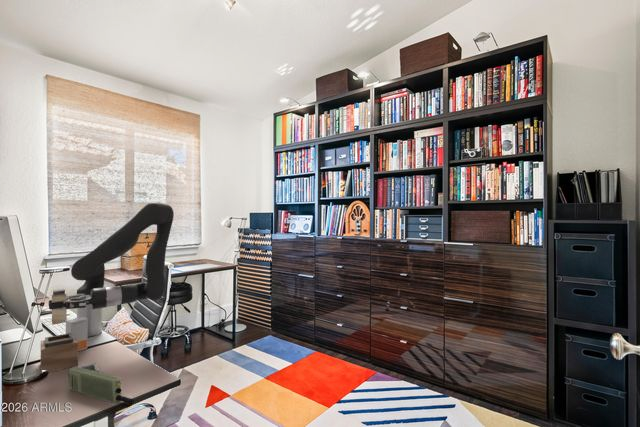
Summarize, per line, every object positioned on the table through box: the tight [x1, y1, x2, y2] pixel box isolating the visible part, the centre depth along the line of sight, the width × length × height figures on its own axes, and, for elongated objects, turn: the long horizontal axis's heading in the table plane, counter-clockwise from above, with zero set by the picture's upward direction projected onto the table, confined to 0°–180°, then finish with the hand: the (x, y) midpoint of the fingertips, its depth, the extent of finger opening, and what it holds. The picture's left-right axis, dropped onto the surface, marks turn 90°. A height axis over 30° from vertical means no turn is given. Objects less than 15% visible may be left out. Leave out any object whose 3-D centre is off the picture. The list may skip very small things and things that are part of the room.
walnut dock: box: [40, 333, 79, 373], centre depth 122 cm, size 10×10×9 cm
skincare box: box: [65, 317, 88, 352], centre depth 134 cm, size 6×4×12 cm
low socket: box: [78, 362, 100, 373], centre depth 115 cm, size 8×8×1 cm
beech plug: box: [51, 288, 68, 325], centre depth 122 cm, size 4×4×11 cm
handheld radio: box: [68, 366, 135, 405], centre depth 101 cm, size 7×3×25 cm
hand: (49, 304), depth 120 cm, fingers closed on beech plug, 4 cm apart
